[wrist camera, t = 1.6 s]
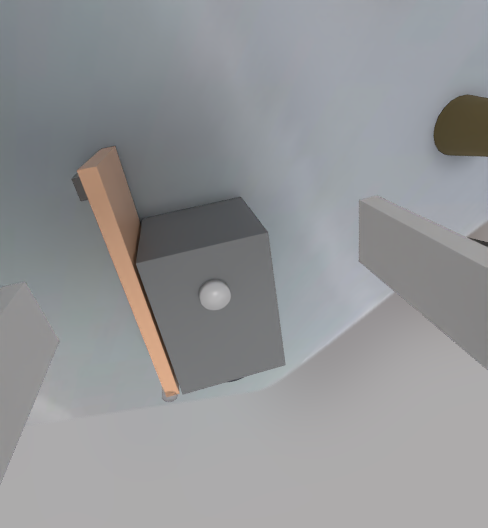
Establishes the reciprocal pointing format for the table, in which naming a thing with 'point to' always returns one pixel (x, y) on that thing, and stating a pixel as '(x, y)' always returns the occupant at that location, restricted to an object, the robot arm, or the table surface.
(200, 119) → the table surface
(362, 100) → the table surface
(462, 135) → the olive hourglass shape
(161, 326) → the block
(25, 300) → the robot arm
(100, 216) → the side door
